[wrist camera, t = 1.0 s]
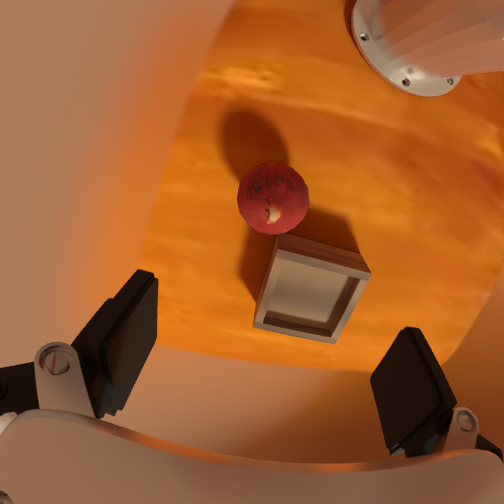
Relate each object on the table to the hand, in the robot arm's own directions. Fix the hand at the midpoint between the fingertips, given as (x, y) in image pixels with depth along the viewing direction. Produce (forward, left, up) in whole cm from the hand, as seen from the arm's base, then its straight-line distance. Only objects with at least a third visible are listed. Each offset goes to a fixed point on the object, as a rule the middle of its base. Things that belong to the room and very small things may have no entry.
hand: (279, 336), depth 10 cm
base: (+8, +5, -18) cm, 21 cm away
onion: (-1, -1, -19) cm, 19 cm away
